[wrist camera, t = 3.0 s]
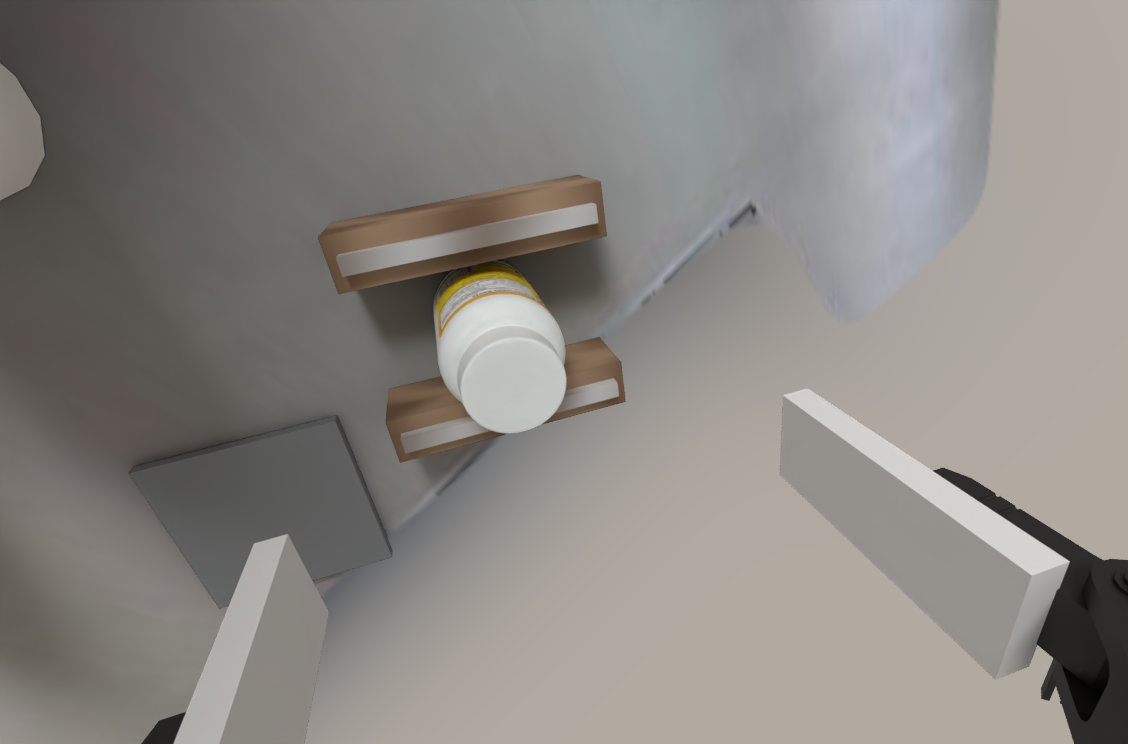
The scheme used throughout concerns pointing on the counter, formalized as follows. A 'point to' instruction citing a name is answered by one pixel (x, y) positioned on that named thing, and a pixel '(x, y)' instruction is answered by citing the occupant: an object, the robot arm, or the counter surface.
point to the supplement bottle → (499, 347)
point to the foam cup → (17, 136)
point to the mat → (266, 503)
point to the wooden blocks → (461, 239)
